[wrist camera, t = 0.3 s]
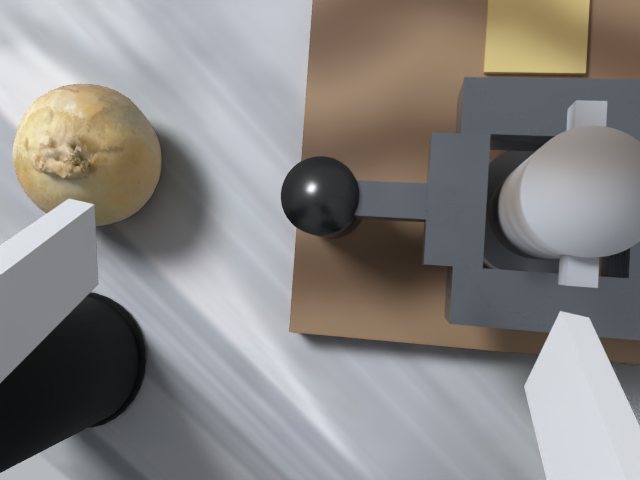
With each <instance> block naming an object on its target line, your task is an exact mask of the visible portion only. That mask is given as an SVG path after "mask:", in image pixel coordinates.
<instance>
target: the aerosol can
mask: <svg viewBox="0 0 640 480" xmlns="http://www.w3.org/2000/svg"><path fill="white" fill-rule="evenodd" d="M145 362H146V360H145V348H144V344H143V340H142V336H141V333H140V331H139V329H138V327H137V325H136V323H135V322H134V320H133V319H132V317H131V316H130V315H129V313H128V312H127V311H126V310H125V309H124V308H123V307H121V306H120V305H119V304H118V303H116V302H115V301H113V300H111V299H110V298H108V297H105V296H102V295H99V294H97V293H89V294H88V295H87V296H86V297H85V298H84V299H83V300H82V301H81V302H80V303H79V304H78V305H77V306H76V307H75V308H74V309H73V310H72V311H71V312H70V313H69V314H68V315H67V316H66V317H65V318H64V319H63V320H62V321H61V322H60V323H59V324H58V325H57V326H56V327H55V328H54V329H53V330H52V331H51V332H50V333H49V334H48V335H47V336H46V337H45V338H44V340H43V341H42V342H41V343H40V344H39V345H38V346H37V347H36V348H35V349H34V350H33V351H32V352H31V353H30V354H29V355H28V356H27V357H26V358H25V359H24V360H23V361H22V362H21V363H20V364H19V365H18V366H17V367H16V368H15V369H14V370H13V371H12V372H11V373H10V374H9V375H8V376H7V377H6V378H5V379H4V380H3V381H2V382H1V383H0V473H1V472H3V471H5V470H6V469H9V468H10V467H12V466H14V465H16V464H18V463H20V462H22V461H24V460H26V459H28V458H30V457H32V456H34V455H36V454H38V453H40V452H41V451H43V450H45V449H47V448H49V447H51V446H53V445H55V444H57V443H59V442H61V441H63V440H65V439H67V438H69V437H70V436H72V435H74V434H76V433H78V432H80V431H82V430H84V429H86V428H91V427H96V426H99V425H103V424H105V423H107V422H109V421H111V420H113V419H115V418H116V417H118V416H119V415H120V414H121V413H122V412H124V411H125V410H126V409H127V407H128V406H129V405H130V404H131V402H132V401H133V400H134V398H135V396H136V395H137V393H138V391H139V389H140V386H141V383H142V380H143V377H144V371H145Z"/></svg>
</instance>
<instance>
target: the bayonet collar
mask: <svg viewBox="0 0 640 480" xmlns="http://www.w3.org/2000/svg"><path fill="white" fill-rule="evenodd" d="M576 100H582V101H607V119H606V127H609V128H614V129H617V130H620V131H622V132H624V133H626V134H629V135H631V136H632V137H634V138H635V139H637V140H638V141H639V142H640V79H573V78H501V77H464V80H463V83H462V86H461V89H460V92H459V96H458V99H457V114H456V131H455V133H435V132H432V135H431V139H430V144H429V152H428V168H427V183H406V182H383V181H361V180H356V178H355V176H354V175H353V173H352V172H351V170H350V169H349V168H348V167H347V166H346V165H345V164H343V163H342V162H340V161H338V160H336V159H334V158H330V157H325V156H316V157H311V158H308V159H305V160H303V161H301V162H300V163H298V164H297V165H296V166H294V167H293V168H292V169H291V170H290V172H289V173H288V174H287V176H286V178H285V180H284V183H283V186H282V190H281V202H282V207H283V210H284V213H285V215H286V216H287V218H288V219H289V221H290V222H291V223H292V224H293V225H294V226H295V227H297V228H298V229H300V230H301V231H304V232H306V233H309V234H312V235H315V236H318V237H321V238H325V239H337V238H341V237H344V236H346V235H348V234H350V233H351V232H352V231H354V230H355V229H356V228H357V227H358V225H359V224H360V222H361V221H362V219H372V220H390V221H407V222H424V231H423V247H422V263H421V264H425V265H439V266H447V278H446V294H445V311H444V317H445V319H446V320H447V321H448V323H449V324H455V325H467V326H478V327H490V328H502V329H513V330H525V331H537V332H548V333H550V331H551V329H552V327H553V325H554V323H555V321H556V319H557V317H558V314H559V312H560V311H562V312H567V313H571V314H575V315H580V316H584V317H589V318H590V320H591V323H592V325H593V327H594V329H595V331H596V333H597V336H598V337H606V338H618V339H630V340H640V241H639V242H638V243H637V244H635V245H634V246H632V247H630V248H629V249H627V250H625V251H622V252H620V253H617V254H614V255H610V256H604V257H602V269H601V276H598V288H592V287H578V286H565V285H558V279H559V274H557V273H543V272H528V271H514V270H499V269H485V268H483V255H484V238H485V221H486V204H487V187H488V170H489V153H490V150H509V151H537V150H538V149H539V148H541V147H542V146H543V145H544V144H545V143H546V142H548V141H549V140H550V139H552V138H553V137H555V136H557V135H558V134H560V133H562V132H565V131H566V130H567V112H568V108H569V107H570V106H571V105H572V104H573V103H574V102H575V101H576Z"/></svg>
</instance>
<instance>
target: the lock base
mask: <svg viewBox="0 0 640 480" xmlns="http://www.w3.org/2000/svg"><path fill="white" fill-rule="evenodd" d="M464 77H501V78H573V79H640V0H313V4H312V18H311V32H310V46H309V60H308V74H307V88H306V102H305V116H304V130H303V145H302V159H301V161H303V160H305V159H308V158H311V157H316V156H325V157H330V158H334V159H336V160H338V161H340V162H342V163H343V164H345V165H346V166H347V167H348V168H349V169H350V170H351V172H352V173H353V175H354V176H355V178H356V180H361V181H383V182H406V183H427V168H428V152H429V144H430V139H431V135H432V132H435V133H455V131H456V114H457V99H458V96H459V92H460V89H461V86H462V83H463V80H464ZM606 119H607V101H582V100H576V101H575V102H574V103H573V104H572V105H571V106H570V107H569V108H568V112H567V130H566V131H565V132H562V133H560V134H558V135H557V136H555V137H553V138H552V139H550V140H549V141H548V142H546V143H545V144H544V145H543V146H542V147H541V148H539V149H538V150H537V151H509V150H490V153H489V170H488V187H487V204H486V221H485V238H484V255H483V268H485V269H499V270H514V271H528V272H543V273H557V274H559V279H558V285H565V286H578V287H592V288H598V276H601V269H602V257H604V256H610V255H614V254H617V253H620V252H622V251H625V250H627V249H629V248H630V247H632V246H634V245H635V244H637V243H638V242H639V241H640V142H639V141H638V140H637V139H635V138H634V137H632V136H631V135H629V134H626V133H624V132H622V131H620V130H617V129H614V128H609V127H606ZM423 231H424V222H407V221H390V220H372V219H362V221H361V222H360V224H359V225H358V227H357V228H356V229H355V230H354V231H352V232H351V233H350V234H348V235H346V236H344V237H341V238H337V239H325V238H321V237H318V236H315V235H312V234H309V233H306V232H304V231H301V230H300V229H298V228H297V229H296V243H295V257H294V271H293V285H292V299H291V314H290V328H289V332H295V333H306V334H317V335H327V336H338V337H349V338H360V339H371V340H381V341H392V342H403V343H414V344H425V345H436V346H446V347H457V348H468V349H479V350H490V351H500V352H511V353H522V354H533V355H539V354H540V352H541V350H542V348H543V346H544V344H545V342H546V340H547V338H548V335H549V333H548V332H537V331H525V330H513V329H502V328H490V327H478V326H467V325H455V324H449V323H448V321H447V320H446V319H445V317H444V311H445V294H446V278H447V266H439V265H425V264H421V263H422V247H423ZM598 338H599V340H600V342H601V344H602V346H603V348H604V351H605V353H606V355H607V357H608V359H609V361H610V362H619V363H630V364H640V340H630V339H618V338H606V337H598Z"/></svg>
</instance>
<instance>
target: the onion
mask: <svg viewBox="0 0 640 480" xmlns="http://www.w3.org/2000/svg"><path fill="white" fill-rule="evenodd" d="M13 161H14V167H15V171H16V175H17V178H18V180H19V182H20V184H21V186H22V188H23V190H24V191H25V193H26V194H27V196H28V197H29V198H30V199H31V200H32V202H33V203H34V204H36V205H37V206H38V207H39V208H40V209H41V210H42V211H44V212H45V213H48V212H50V211H51V210H53V209H54V208H56V207H57V206H59V205H60V204H62V203H63V202H64V201H66V200H67V199H73V200H77V201H82V202H86V203H91V204H94V208H95V226H100V225H108V224H112V223H115V222H119V221H122V220H124V219H126V218H128V217H130V216H131V215H133V214H134V213H136V212H137V211H139V210H140V209H141V208H142V207H143V206H144V205H145V203H146V202H147V201H148V200H149V199H150V197H151V196H152V194H153V192H154V190H155V188H156V186H157V184H158V182H159V179H160V173H161V148H160V144H159V141H158V138H157V136H156V133H155V131H154V129H153V127H152V125H151V124H150V122H149V121H148V120H147V118H146V117H145V115H144V114H143V113H142V112H141V111H140V110H139V108H138V107H137V106H136V105H135V104H134V103H133V102H132V101H131V100H130V99H129V98H127V97H126V96H124V95H122V94H121V93H119V92H118V91H115V90H113V89H110V88H107V87H103V86H99V85H92V84H73V85H67V86H62V87H59V88H56V89H54V90H51V91H49V92H48V93H46V94H45V95H43V96H41V97H40V98H38V99H37V100H36V101H35V102H34V103H33V104H32V105H31V106H30V107H29V108H28V110H27V111H26V113H25V114H24V116H23V118H22V120H21V122H20V124H19V127H18V129H17V133H16V136H15V140H14V145H13Z"/></svg>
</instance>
